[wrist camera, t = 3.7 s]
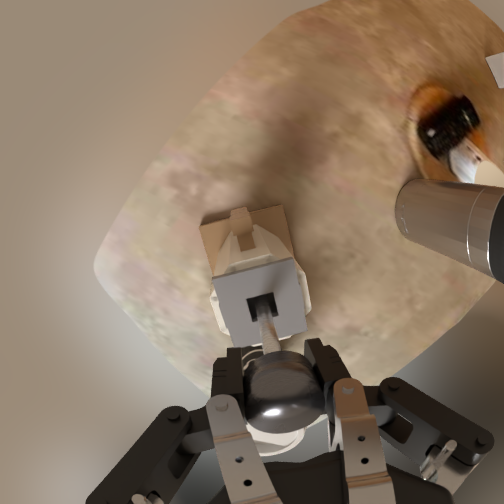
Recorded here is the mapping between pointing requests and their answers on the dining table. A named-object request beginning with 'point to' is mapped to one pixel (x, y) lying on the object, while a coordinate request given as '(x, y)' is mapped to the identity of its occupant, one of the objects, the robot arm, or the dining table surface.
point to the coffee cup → (264, 441)
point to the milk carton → (497, 67)
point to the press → (254, 273)
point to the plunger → (279, 380)
